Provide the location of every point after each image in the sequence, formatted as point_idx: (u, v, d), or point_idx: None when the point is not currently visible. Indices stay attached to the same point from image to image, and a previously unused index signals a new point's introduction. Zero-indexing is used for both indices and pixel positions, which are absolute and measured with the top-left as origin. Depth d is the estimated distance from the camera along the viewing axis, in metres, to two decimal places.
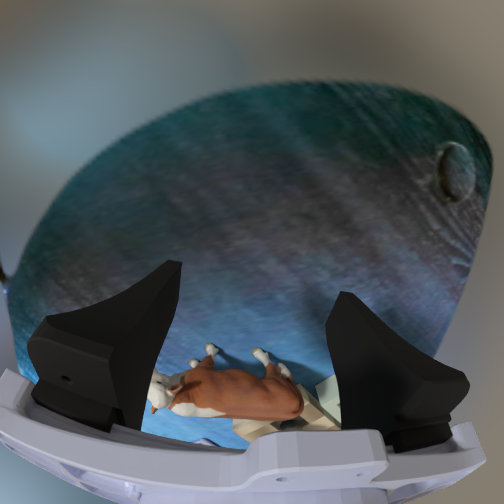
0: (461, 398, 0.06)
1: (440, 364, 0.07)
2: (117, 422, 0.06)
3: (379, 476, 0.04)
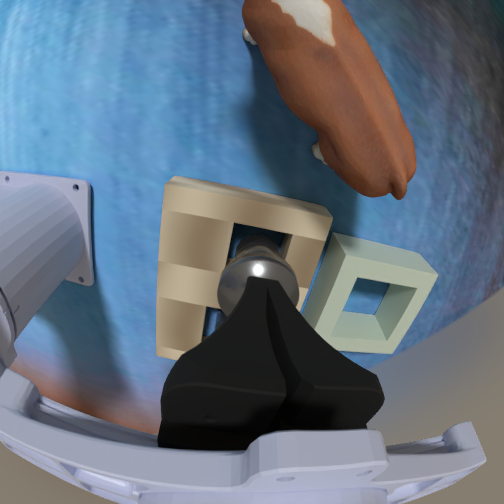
0: (376, 409, 0.06)
1: (350, 363, 0.07)
2: None
3: (379, 476, 0.04)
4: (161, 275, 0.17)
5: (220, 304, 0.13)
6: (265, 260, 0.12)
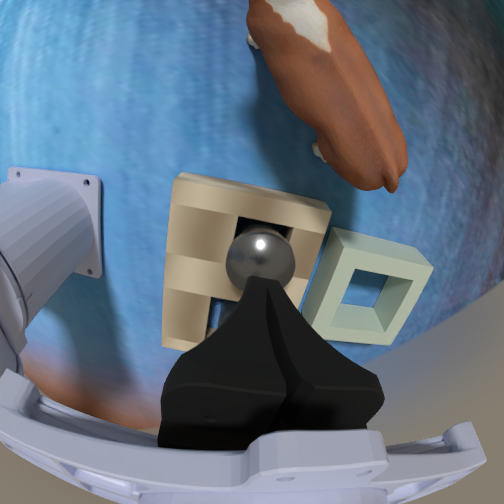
0: (376, 408, 0.06)
1: (350, 363, 0.07)
2: None
3: (379, 476, 0.04)
4: (168, 266, 0.18)
5: (228, 273, 0.15)
6: (266, 233, 0.14)
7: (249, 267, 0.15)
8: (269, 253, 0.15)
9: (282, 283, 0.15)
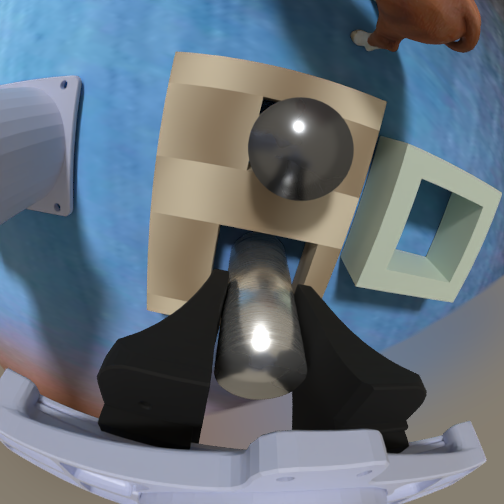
0: (418, 405, 0.06)
1: (393, 365, 0.07)
2: (191, 440, 0.06)
3: (379, 476, 0.04)
4: (159, 177, 0.12)
5: (251, 161, 0.09)
6: None
7: (285, 150, 0.09)
8: (315, 128, 0.09)
9: (334, 180, 0.10)
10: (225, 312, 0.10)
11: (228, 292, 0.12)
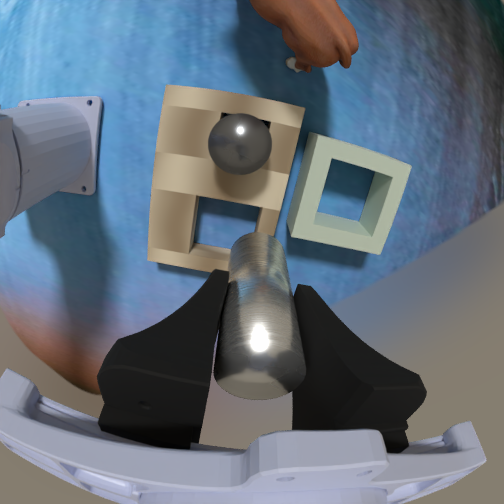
0: (418, 405, 0.06)
1: (393, 364, 0.07)
2: (191, 440, 0.06)
3: (379, 476, 0.04)
4: (157, 165, 0.18)
5: (210, 152, 0.16)
6: (244, 113, 0.15)
7: (229, 145, 0.16)
8: (247, 130, 0.15)
9: (261, 161, 0.16)
10: (224, 313, 0.10)
11: (227, 292, 0.12)
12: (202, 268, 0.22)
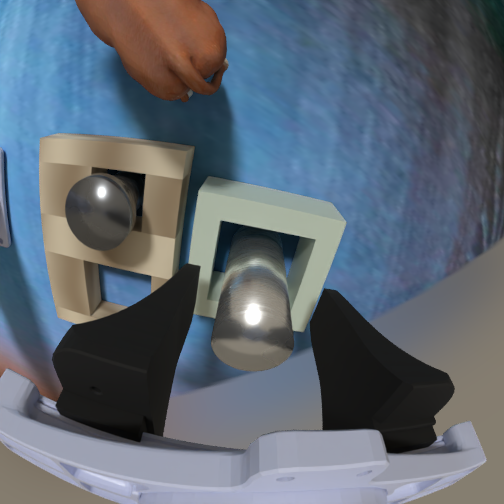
0: (445, 401, 0.06)
1: (423, 365, 0.07)
2: (145, 430, 0.06)
3: (379, 476, 0.04)
4: (44, 227, 0.14)
5: (69, 225, 0.12)
6: (95, 176, 0.11)
7: (85, 216, 0.12)
8: (99, 198, 0.11)
9: (120, 235, 0.12)
10: (223, 290, 0.12)
11: (227, 273, 0.13)
12: None
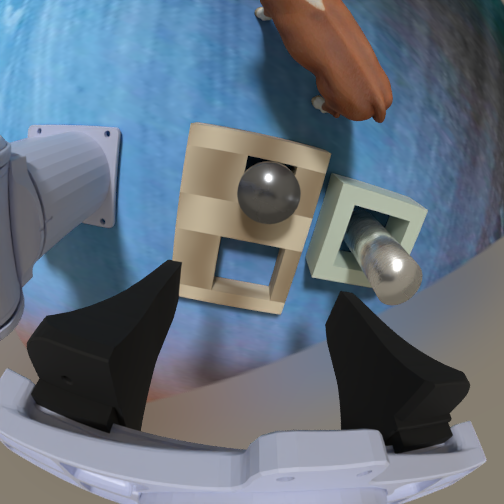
0: (461, 398, 0.06)
1: (440, 364, 0.07)
2: (117, 422, 0.06)
3: (379, 476, 0.04)
4: (181, 206, 0.19)
5: (239, 201, 0.17)
6: (274, 163, 0.16)
7: (259, 195, 0.16)
8: (276, 181, 0.16)
9: (289, 211, 0.17)
10: (371, 251, 0.16)
11: (365, 242, 0.17)
12: (224, 303, 0.23)
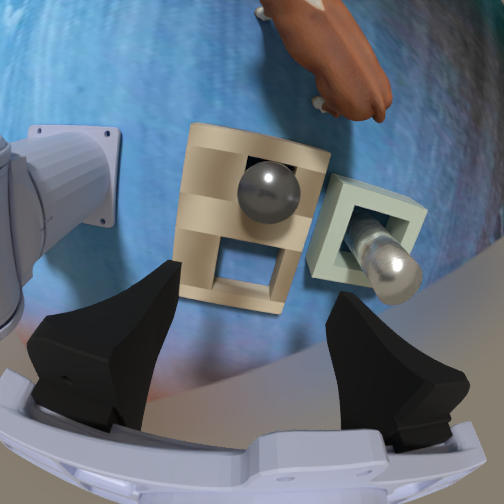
0: (461, 398, 0.06)
1: (440, 364, 0.07)
2: (117, 422, 0.06)
3: (379, 476, 0.04)
4: (181, 206, 0.19)
5: (239, 201, 0.17)
6: (274, 163, 0.16)
7: (259, 195, 0.16)
8: (276, 181, 0.16)
9: (289, 211, 0.17)
10: (371, 251, 0.16)
11: (365, 242, 0.17)
12: (224, 303, 0.23)
